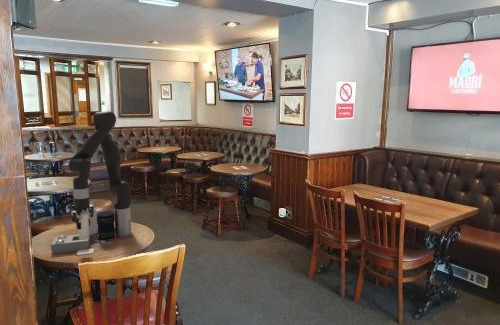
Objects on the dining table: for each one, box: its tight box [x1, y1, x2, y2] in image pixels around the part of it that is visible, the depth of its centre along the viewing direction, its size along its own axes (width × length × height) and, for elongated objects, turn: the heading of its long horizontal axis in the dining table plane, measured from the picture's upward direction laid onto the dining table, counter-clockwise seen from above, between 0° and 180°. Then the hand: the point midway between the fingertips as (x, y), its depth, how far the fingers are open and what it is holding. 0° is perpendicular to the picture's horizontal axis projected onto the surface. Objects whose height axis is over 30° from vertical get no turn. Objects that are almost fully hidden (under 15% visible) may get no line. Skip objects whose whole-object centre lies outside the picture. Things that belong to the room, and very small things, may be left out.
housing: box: [50, 233, 92, 254], centre depth 200 cm, size 18×12×5 cm, turn 109°
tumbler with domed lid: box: [77, 211, 91, 240], centre depth 191 cm, size 6×6×16 cm
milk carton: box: [88, 201, 98, 236], centre depth 221 cm, size 7×7×19 cm
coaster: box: [76, 248, 95, 256], centre depth 194 cm, size 8×6×1 cm
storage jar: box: [96, 210, 116, 242], centre depth 214 cm, size 10×10×15 cm
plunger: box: [58, 234, 66, 239], centre depth 202 cm, size 3×3×6 cm
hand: (83, 227), depth 192 cm, fingers closed on tumbler with domed lid, 5 cm apart
